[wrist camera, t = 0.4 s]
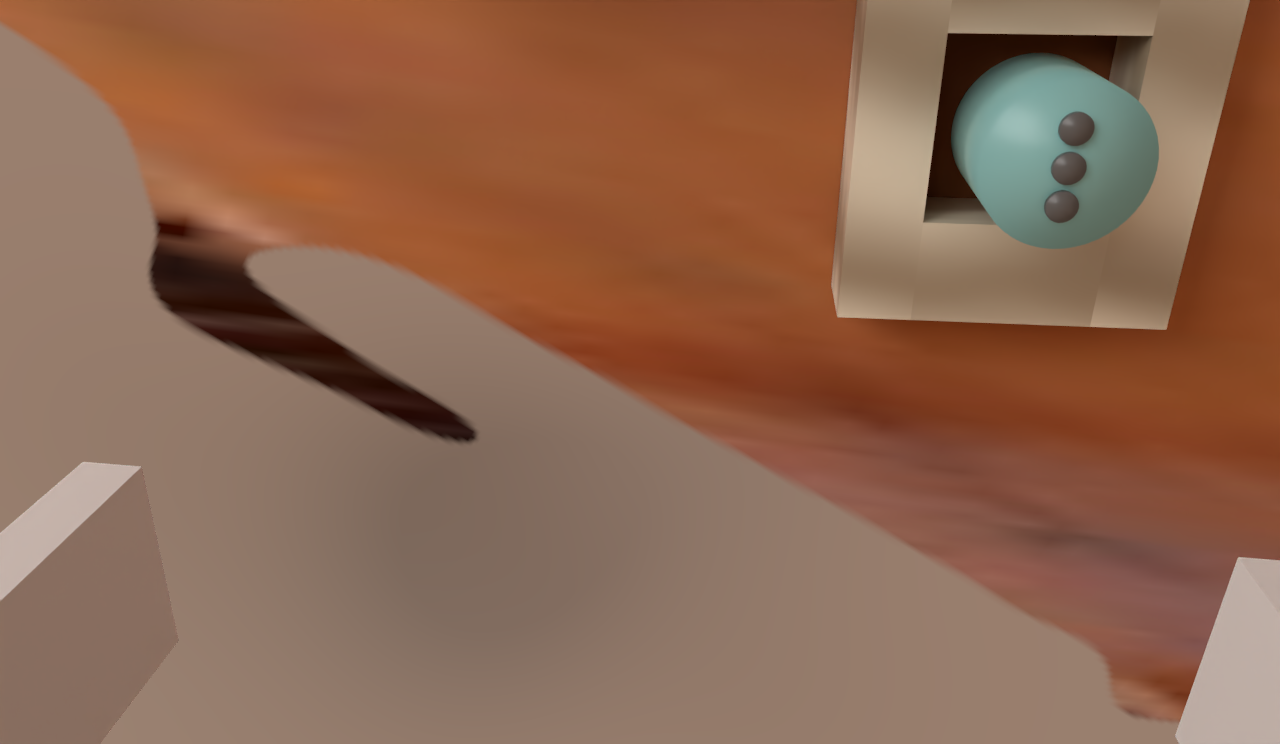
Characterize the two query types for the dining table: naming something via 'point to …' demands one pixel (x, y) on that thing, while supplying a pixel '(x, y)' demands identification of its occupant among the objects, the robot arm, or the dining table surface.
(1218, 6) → the wooden compartment tray
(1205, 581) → the dining table surface
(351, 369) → the dining table surface
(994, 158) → the button
